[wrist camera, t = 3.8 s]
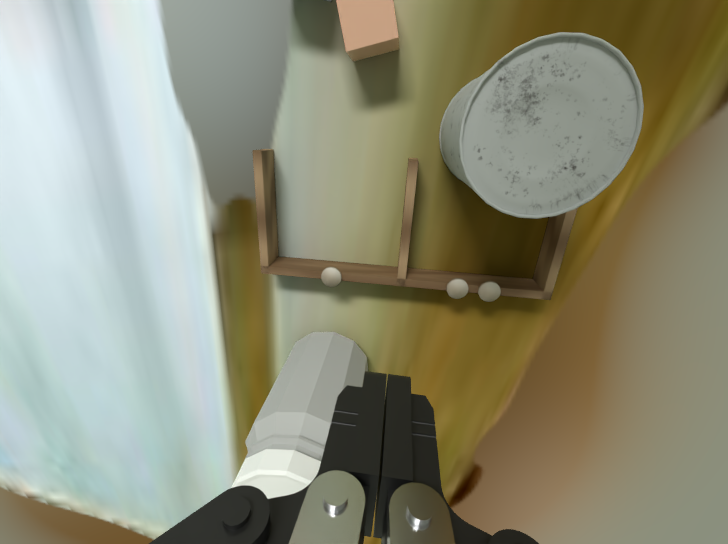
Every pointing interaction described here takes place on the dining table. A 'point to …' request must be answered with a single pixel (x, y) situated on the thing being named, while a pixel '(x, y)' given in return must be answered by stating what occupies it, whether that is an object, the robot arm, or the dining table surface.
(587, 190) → the speckled white canister
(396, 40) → the block terracotta
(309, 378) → the jar
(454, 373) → the dining table surface
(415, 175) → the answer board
